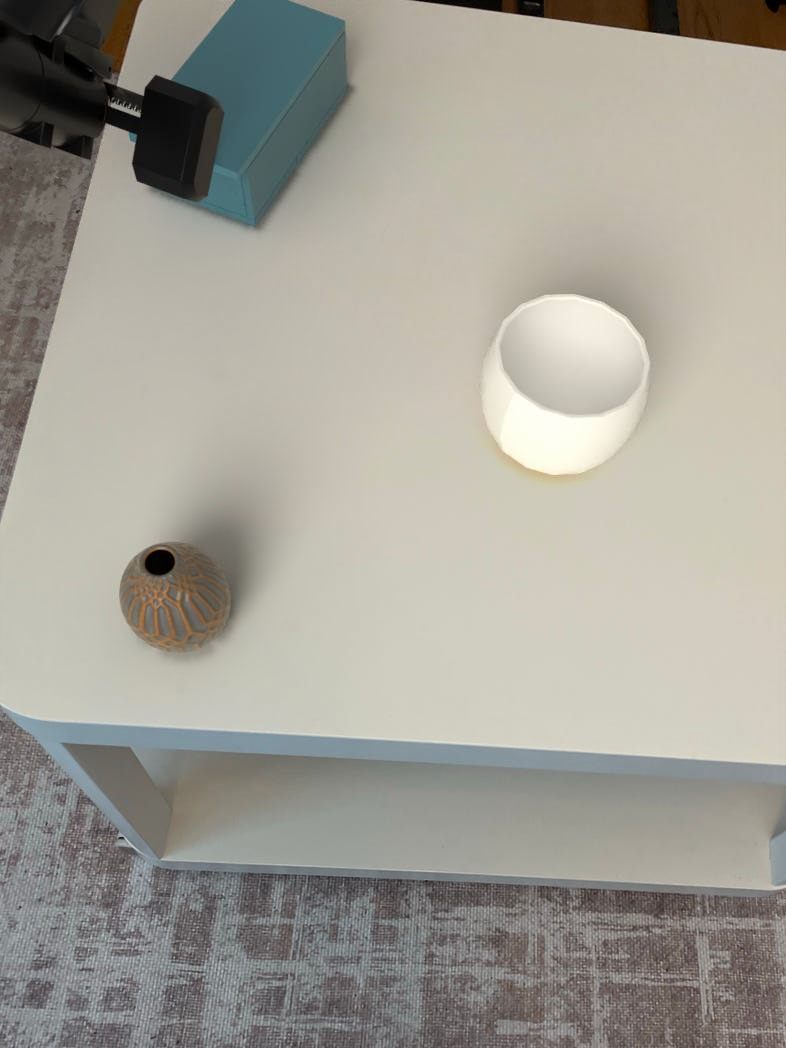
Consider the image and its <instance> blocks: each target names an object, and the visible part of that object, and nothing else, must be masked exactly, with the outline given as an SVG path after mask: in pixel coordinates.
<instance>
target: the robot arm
mask: <svg viewBox="0 0 786 1048" xmlns="http://www.w3.org/2000/svg"><path fill="white" fill-rule="evenodd" d="M122 3H124V0H0V132H3V133H5V134H8V135H11V136H12V137H13V136H14V137H17V138H19V139H20V140H21V139H22V140H24V141H27V142H28V143H29V142H30V143H32V144H35V145H37V146H40V147H43V148H47V149H52V148H55V149H57V150H60V151H62V152H66V153H68V154H70V155H73V156H76V157H78V158H82V159H85V160H88V161H92V157H93V156H92V154H93V149H94V143H95V140H97V139H98V138H99V137H100V136H101V134H102V132H103V130H104V128H105V126H106V125H108V126H109V125H110V126H111V127H115V128H118V129H120V130H123V131H125V132H128V133H129V132H130V133H133V134H136V135H137V137H136V143H135V142H134V149H133V154H132V155H133V156H132V160H131V166H132V171H133V173H134V177H135V180H136V182H138V183H140V184H143V185H145V186H148V187H150V188H153V189H155V188H156V189H159V190H161V191H164V192H167V193H169V194H172V195H175V196H177V197H180V198H183V199H186V200H189V201H193V202H197V203H199V202H200V201H202V200H203V199H205V198H206V197H208V193H209V188H210V183H211V178H212V173H213V168H214V163H215V158H216V153H217V148H218V143H219V138H220V134H221V129H222V124H223V119H224V114H225V112H224V110H223V108H222V106H221V104H220V102H219V100H218V99H216V98H214V97H212V96H210V95H208V94H206V93H204V92H201V91H199V90H196V89H193V88H191V87H188V86H185V85H182V84H180V83H177V82H174V81H171V79H169V78H166V77H164V76H161V75H158V74H154V76H153V77H152V78H151V79H150V81H149V82H148V83H147V84H146V86H145V87H144V91H143V95H142V94H140V93H137V92H134V91H132V90H129V89H126V88H124V87H121V86H118V85H115V84H113V83H111V82H107V81H111V79H112V75H113V71H114V63H115V57H114V56H112V55H110V54H108V53H105V52H103V51H102V46H103V45H104V44H105V42H106V41H107V39H108V37H109V34H110V31H111V28H112V26H113V23H114V21H115V18H116V15H117V13H118V10H119V7H120V5H121V4H122ZM105 80H106V81H105ZM109 103H110V104H111V103H112V104H115V105H116V106H120V107H122V108H126V109H128V110H130V111H133V112H135V113H137V112H138V113H139V116H137V115H135V114H132V113H129V112H126V111H124V110H121V109H118V108H115V107H113V106H110V105H109ZM156 189H155V190H156ZM161 191H160V192H161ZM169 194H168V195H169ZM177 197H176V198H177ZM180 198H179V199H180Z"/></svg>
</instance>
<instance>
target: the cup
mask: <svg viewBox="0 0 786 1048" xmlns="http://www.w3.org/2000/svg"><path fill="white" fill-rule="evenodd" d="M480 373H481V374H480V379H479V385H478V386H479V387H478V388H479V393H480V399H481V407H482V413H483V416H484V420H485V423H486V426H487V429H488V432H489V433H490V434H491V436H492V437H493V439H494V440H495V442H496V444H497V445H498V447H499V448H500V449H501V451H502V452H503V453H505V454H506V455H507V456H509V457H510V458H512V459H514V460H515V461H516V462H518V463H519V464H521V465H522V466H523V467H525V468H527V469H530V470H533V471H537V472H540V473H545V474H547V475H551V476H557V475H558V476H559V475H575V474H583V473H584V472H587V471H589V470H591V469H594V468H596V467H598V466H600V465H603V464H604V463H606V462H607V461H608V460H609V459H610V458H612V457H613V456H614V455H615V454H616V453H617V452H618V451H619V450H620V449H621V448H622V447H623V445H624V444H625V443H626V442H627V441H628V440H629V439H630V437H632V435H633V434H634V433H635V432H636V430H637V427H638V426H639V423H640V421H641V418H642V416H643V414H644V412H645V409H646V404H647V400H648V396H649V391H650V387H651V378H652V376H651V375H652V363H651V359H650V356H649V352H648V349H647V345H646V340H645V339H644V338H643V336H642V335H641V334H640V332H639V331H638V330H637V328H636V327H635V325H633V323H632V322H631V321H630V320H629V318H628V317H627V316H626V315H624V314H623V313H621V312H619V311H618V310H616V309H615V308H613V307H612V306H611V305H608V303H605V302H604V301H602V300H597V299H594V298H591V297H587V296H583V295H580V294H575V293H561V294H559V293H558V294H555V293H554V294H543V295H541V296H539V297H536V298H534V299H530V300H528V301H526V302H523V303H520V304H518V306H516V307H515V308H514V309H513V310H512V311H511V312H510V313H509V314H508V315H507V316H506V317H505V318H504V319H503V320H502V321H501V322H500V323H499V325H498V327H497V328H496V330H495V332H494V333H493V335H492V336H491V338H490V341H489V344H488V347H487V351H486V353H485V356H484V360H483V362H482V367H481V372H480Z"/></svg>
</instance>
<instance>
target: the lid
mask: <svg viewBox="0 0 786 1048" xmlns="http://www.w3.org/2000/svg"><path fill="white" fill-rule="evenodd" d="M344 31H345V32H346V19H342V18H339V17H337V16H334V15H331V14H329V13H324V12H322V11H320V10H318V9H314V8H311V7H308V6H306V5H304V4H300V3H297V2H295V1H292V0H234V1H233V2H232V4H231V5H230V6H229V7H228V8H227V10H226V11H225V12H224V13H223V15H222V16H221V17H220V19H218V21H217V22H215V25H214V26H213V27H212V29H211V30H210V31H209V32H208V33H207V35H205V37H204V38H203V39H202V41H201V42H200V43H199V44H198V46H197V47H196V48H195V49H194V51H193V52H192V53H191V54H190V55H189V56H188V58H187V59H186V60H185V61H184V63H183V64H182V65H181V66H180V68H178V70H177V72H176V73H175V74H174V75H173V77H172V78H171V79H170V80H171V81H174V82H177V83H180V84H182V85H185V86H188V87H191V88H193V89H196V90H199V91H201V92H204V93H206V94H208V95H210V96H212V97H214V98H216V99H218V100H219V102H220V104H221V106H222V108H223V110H224V112H225V114H224V119H223V124H222V129H221V134H220V138H219V143H218V148H217V153H216V158H215V163H214V168H213V172H216V173H218V174H221V175H224V176H227V177H229V178H232V179H235V180H237V181H239V179H240V178H241V177H242V175H243V174H244V172H245V171H246V169H247V168H248V167H249V165H250V164H251V162H252V161H253V160H254V158H255V157H256V155H257V154H258V152H259V151H260V150H261V148H262V147H263V145H264V144H265V143H266V141H267V140H268V138H269V137H270V135H271V134H272V133H273V131H274V130H275V128H276V127H277V126H278V124H279V123H280V121H281V120H282V118H283V117H284V116H285V114H286V113H287V111H288V110H289V109H290V107H291V106H292V104H293V103H294V101H295V100H296V99H297V97H298V96H299V94H300V93H301V92H302V90H303V89H304V87H305V86H306V84H307V83H308V82H309V80H310V79H311V77H312V76H313V75H314V73H315V72H316V70H317V69H318V67H319V66H320V65H321V63H322V62H323V60H324V59H325V58H326V56H327V55H328V53H329V52H330V50H331V49H332V48H333V46H334V45H335V43H336V42H337V41H338V39H339V38H340V36H341V35H342V33H343V32H344ZM128 137H129V141H130V142H132V143H134V144H135V143H136V137H137V135H136V134H133V133H130V132H128Z"/></svg>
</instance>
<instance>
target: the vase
mask: <svg viewBox="0 0 786 1048" xmlns="http://www.w3.org/2000/svg"><path fill="white" fill-rule="evenodd" d="M118 597H119V598H118V599H119V606H120V610H121V613H122V616H123V617H124V620H125V622H126V624H127V625H128V627H129V628H130V629H131V630H132V632H133V633H134V634H135V635H136V636H137V637H138V638H139V639H140V640H141V641H142V642H144V643H145V644H147V645H149V646H150V647H153V648H154V649H156V650H160V651H162V652H167V653H173V654H183V653H191V652H194V651H198V650H199V649H202V648H205V647H206V646H207V645H209V644H210V643H212V642H213V641H214V640H215V639H216V638H217V637H219V635H220V634H221V633H222V631H223V630H224V628H225V626H226V624H227V622H228V620H229V617H230V613H231V606H232V596H231V590H230V586H229V582H228V579H227V576H226V575H225V572H224V570H223V569H222V568H221V566H220V565H219V564H218V563H217V561H216V560H215V559H213V557H211V555H209V554H208V553H207V552H205V551H204V550H202V549H201V548H198V547H197V546H194V545H191V544H188V543H184V542H181V541H180V542H179V541H163V542H160V543H155V544H152V545H150V546H148V547H146V548H144V549H142V550H141V551H139V552H138V553H137V554H136V555H135V556H134V557H132V559H130V561H129V562H128V564H127V566H126V567H125V568H124V571H123V573H122V575H121V578H120V583H119V591H118Z"/></svg>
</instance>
